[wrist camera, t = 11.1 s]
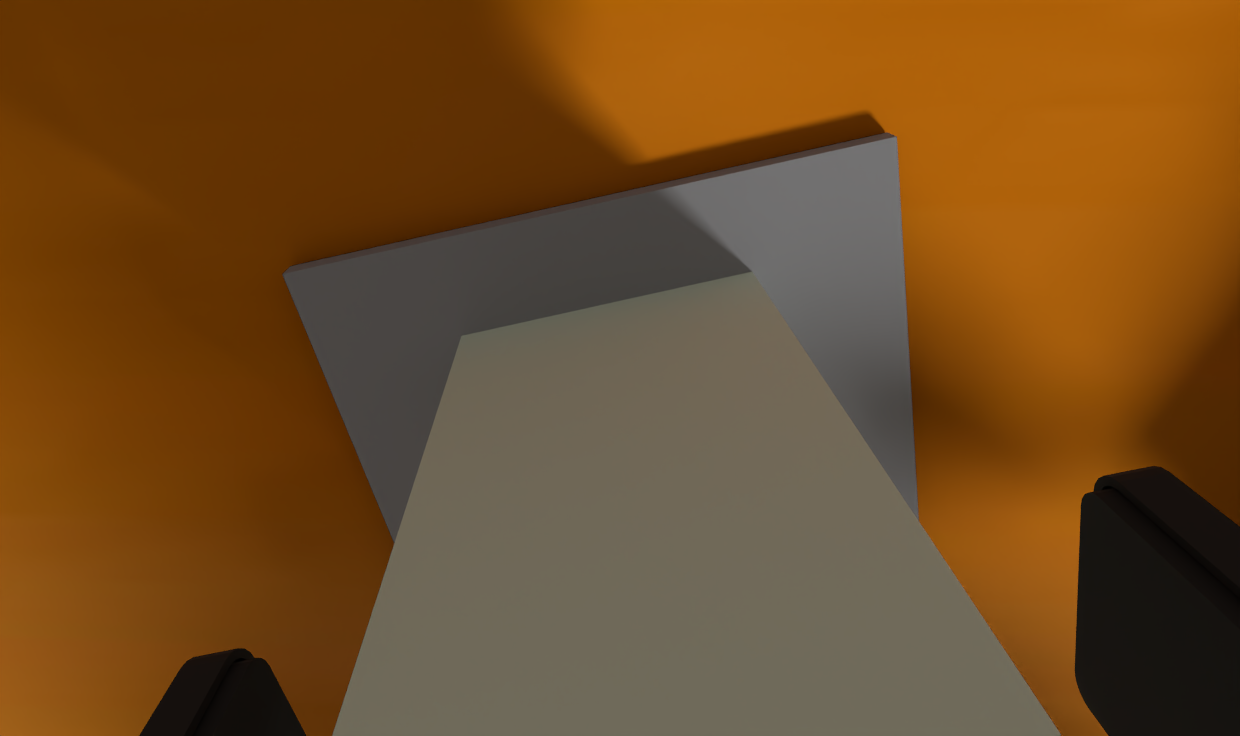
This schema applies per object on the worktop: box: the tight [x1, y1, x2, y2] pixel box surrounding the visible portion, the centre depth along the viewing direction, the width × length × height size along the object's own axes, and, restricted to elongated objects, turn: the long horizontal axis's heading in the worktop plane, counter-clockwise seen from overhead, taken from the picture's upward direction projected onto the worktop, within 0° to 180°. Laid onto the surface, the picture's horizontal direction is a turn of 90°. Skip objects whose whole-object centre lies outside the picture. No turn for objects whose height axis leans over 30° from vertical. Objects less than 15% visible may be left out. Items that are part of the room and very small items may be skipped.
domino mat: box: [282, 133, 919, 543], centre depth 21 cm, size 25×12×1 cm, turn 12°
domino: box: [332, 272, 1061, 736], centre depth 11 cm, size 2×6×11 cm, turn 102°
